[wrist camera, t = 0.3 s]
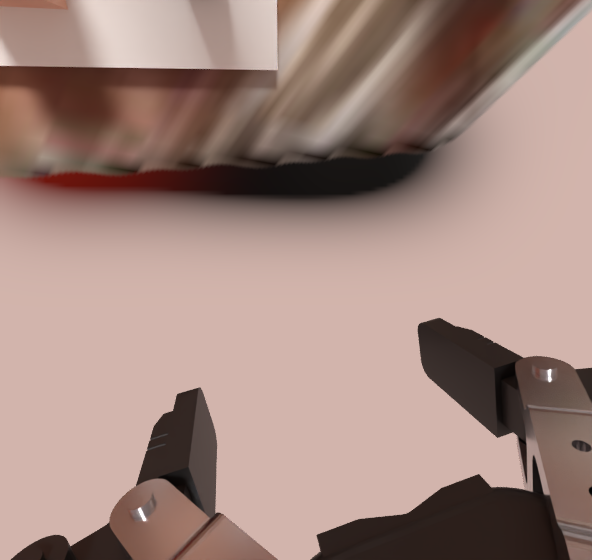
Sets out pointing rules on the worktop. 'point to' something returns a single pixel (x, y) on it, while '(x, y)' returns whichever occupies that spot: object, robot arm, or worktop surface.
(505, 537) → the robot arm
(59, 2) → the salmon pink cube
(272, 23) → the white board
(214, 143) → the worktop surface
